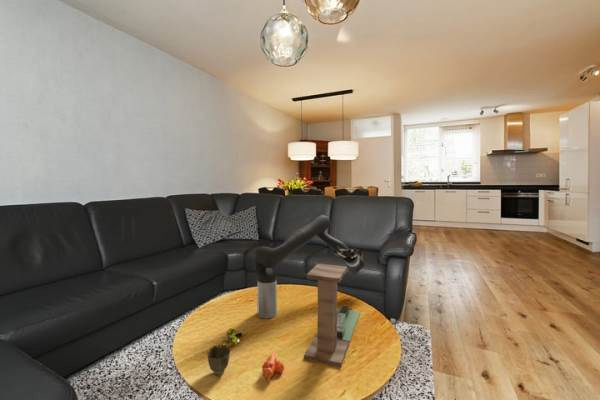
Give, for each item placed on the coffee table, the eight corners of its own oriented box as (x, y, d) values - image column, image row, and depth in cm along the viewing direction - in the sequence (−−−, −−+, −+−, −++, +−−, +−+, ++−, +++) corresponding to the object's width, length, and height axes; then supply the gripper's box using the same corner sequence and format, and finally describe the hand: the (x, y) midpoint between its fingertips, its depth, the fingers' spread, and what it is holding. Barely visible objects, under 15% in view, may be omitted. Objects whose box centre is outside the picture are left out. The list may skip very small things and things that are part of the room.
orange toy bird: (269, 345, 105) (262, 366, 93) (288, 352, 104) (283, 375, 92) (264, 357, 105) (257, 380, 93) (283, 364, 105) (278, 388, 93)
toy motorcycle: (228, 325, 123) (244, 325, 123) (228, 333, 123) (244, 334, 123) (220, 341, 111) (238, 341, 111) (220, 350, 111) (238, 351, 111)
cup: (224, 382, 94) (223, 358, 93) (203, 378, 95) (202, 356, 95) (233, 367, 101) (233, 345, 101) (214, 364, 103) (214, 343, 102)
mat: (332, 308, 146) (332, 307, 146) (360, 313, 141) (360, 311, 141) (316, 336, 121) (316, 334, 121) (349, 342, 116) (349, 340, 116)
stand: (315, 338, 119) (315, 263, 117) (348, 345, 114) (349, 267, 112) (303, 358, 106) (303, 274, 104) (341, 367, 101) (342, 278, 99)
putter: (338, 310, 143) (338, 304, 142) (354, 313, 140) (354, 307, 139) (323, 335, 120) (323, 328, 120) (342, 339, 117) (342, 332, 117)
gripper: (339, 249, 156) (332, 240, 143) (365, 252, 151) (361, 242, 137) (337, 263, 153) (330, 255, 140) (364, 266, 148) (359, 258, 134)
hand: (345, 249), depth 139 cm, fingers open, 8 cm apart
